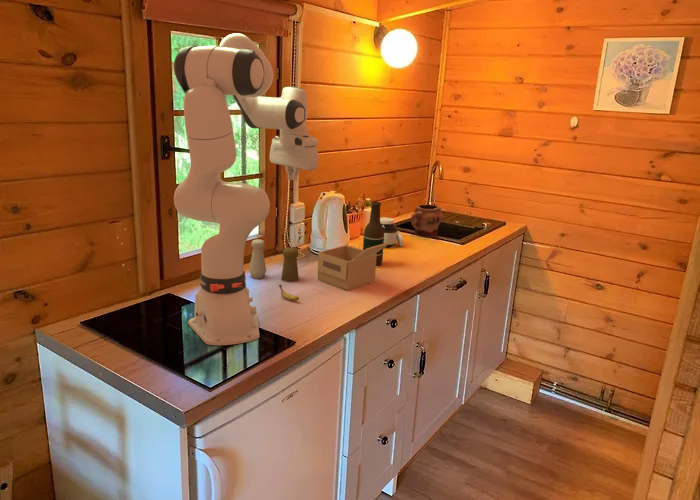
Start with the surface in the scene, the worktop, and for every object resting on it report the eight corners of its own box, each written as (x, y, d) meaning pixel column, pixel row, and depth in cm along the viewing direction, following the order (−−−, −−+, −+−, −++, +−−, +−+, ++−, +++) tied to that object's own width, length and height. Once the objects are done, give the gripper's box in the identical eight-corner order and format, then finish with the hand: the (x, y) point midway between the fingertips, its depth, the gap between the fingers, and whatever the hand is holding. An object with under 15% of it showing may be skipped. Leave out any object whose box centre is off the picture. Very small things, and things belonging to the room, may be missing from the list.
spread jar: (369, 243, 236) (371, 217, 232) (389, 240, 242) (391, 215, 239) (387, 251, 227) (389, 223, 223) (408, 247, 233) (410, 221, 230)
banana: (277, 297, 172) (277, 285, 171) (281, 295, 173) (281, 284, 172) (296, 304, 167) (297, 292, 166) (300, 302, 169) (300, 290, 168)
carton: (314, 280, 188) (315, 252, 186) (344, 270, 200) (346, 244, 197) (346, 291, 179) (347, 262, 176) (376, 281, 190) (377, 253, 188)
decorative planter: (422, 242, 242) (425, 211, 238) (400, 236, 250) (402, 206, 246) (447, 235, 257) (450, 206, 253) (426, 229, 264) (428, 201, 260)
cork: (282, 282, 185) (282, 250, 182) (280, 276, 190) (280, 245, 187) (300, 281, 186) (300, 250, 183) (297, 275, 192) (298, 245, 189)
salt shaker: (262, 280, 185) (262, 243, 182) (246, 278, 186) (246, 241, 183) (268, 274, 191) (268, 238, 187) (252, 273, 192) (253, 237, 188)
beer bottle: (374, 259, 214) (378, 199, 207) (386, 265, 208) (390, 203, 201) (357, 262, 210) (361, 200, 203) (369, 268, 204) (373, 204, 197)
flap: (366, 248, 172) (366, 249, 172) (389, 241, 181) (390, 243, 181) (351, 259, 178) (351, 261, 177) (374, 252, 186) (375, 254, 186)
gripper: (265, 135, 185) (265, 176, 189) (307, 141, 172) (306, 185, 176) (279, 135, 190) (278, 174, 194) (321, 141, 177) (320, 183, 181)
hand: (292, 180), depth 185 cm, fingers closed
